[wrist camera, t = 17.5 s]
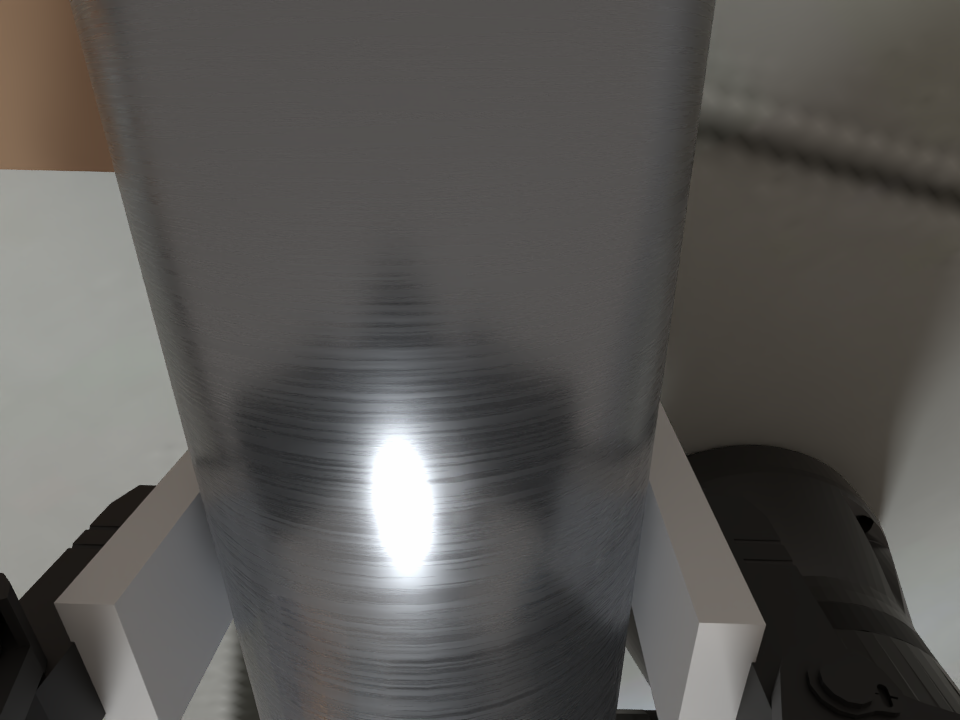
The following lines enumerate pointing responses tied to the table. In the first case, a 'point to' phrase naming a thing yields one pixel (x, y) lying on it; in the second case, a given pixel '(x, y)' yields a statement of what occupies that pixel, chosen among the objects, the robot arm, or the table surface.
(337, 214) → the steel axle
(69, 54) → the brown wooden arched block
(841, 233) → the table surface
